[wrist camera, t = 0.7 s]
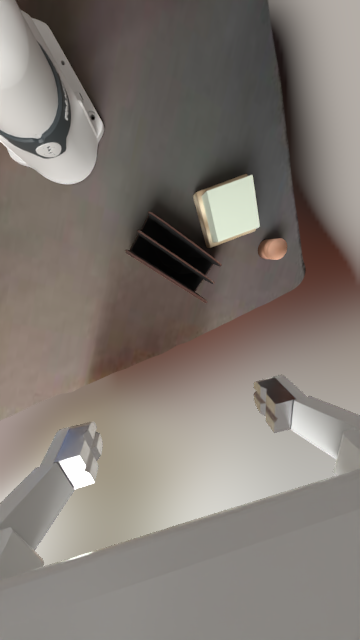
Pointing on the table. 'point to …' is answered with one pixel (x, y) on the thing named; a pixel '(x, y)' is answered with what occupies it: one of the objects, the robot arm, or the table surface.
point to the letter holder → (172, 255)
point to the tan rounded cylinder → (272, 248)
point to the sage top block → (231, 209)
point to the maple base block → (203, 217)
